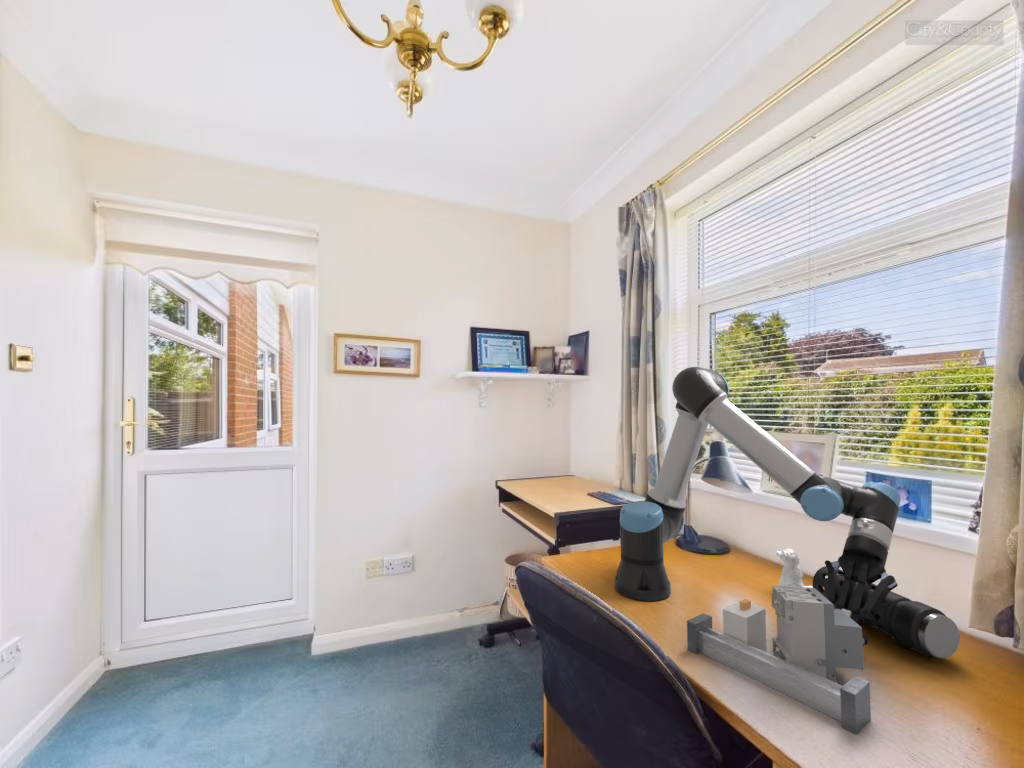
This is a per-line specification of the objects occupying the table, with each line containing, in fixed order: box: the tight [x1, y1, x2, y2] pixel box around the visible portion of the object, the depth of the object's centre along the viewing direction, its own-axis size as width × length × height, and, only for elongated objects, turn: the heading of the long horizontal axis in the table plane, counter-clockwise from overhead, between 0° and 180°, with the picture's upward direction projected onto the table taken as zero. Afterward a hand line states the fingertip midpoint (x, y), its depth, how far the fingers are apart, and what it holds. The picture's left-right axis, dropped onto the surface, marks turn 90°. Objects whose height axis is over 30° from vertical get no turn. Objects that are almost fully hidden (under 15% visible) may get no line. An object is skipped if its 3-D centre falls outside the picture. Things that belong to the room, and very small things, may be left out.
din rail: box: [686, 613, 872, 735], centre depth 85 cm, size 30×6×6 cm, turn 34°
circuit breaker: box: [770, 584, 869, 683], centre depth 87 cm, size 8×14×15 cm, turn 78°
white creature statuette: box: [776, 547, 813, 588], centre depth 125 cm, size 10×9×12 cm
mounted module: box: [722, 598, 768, 653], centre depth 95 cm, size 5×8×10 cm, turn 124°
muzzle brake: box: [812, 565, 961, 659], centre depth 104 cm, size 10×28×10 cm, turn 7°
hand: (840, 642), depth 91 cm, fingers closed
